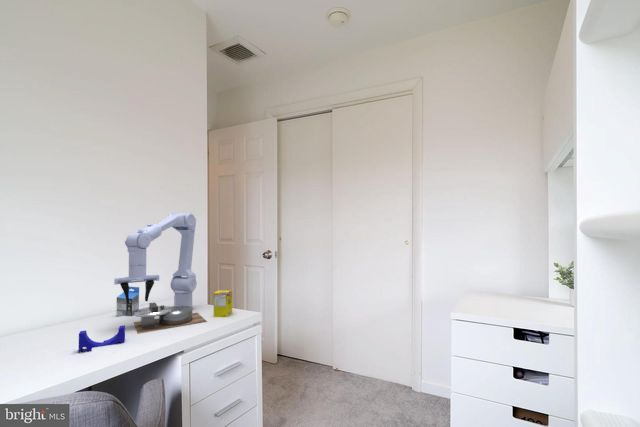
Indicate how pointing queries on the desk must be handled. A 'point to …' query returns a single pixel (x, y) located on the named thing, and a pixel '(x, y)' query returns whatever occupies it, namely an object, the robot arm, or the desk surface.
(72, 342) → the desk surface
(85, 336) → the cable clip
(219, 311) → the supplement box
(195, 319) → the walnut board
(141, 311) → the lid
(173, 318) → the grey dish and cube
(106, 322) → the desk surface
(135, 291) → the grey blue carton
